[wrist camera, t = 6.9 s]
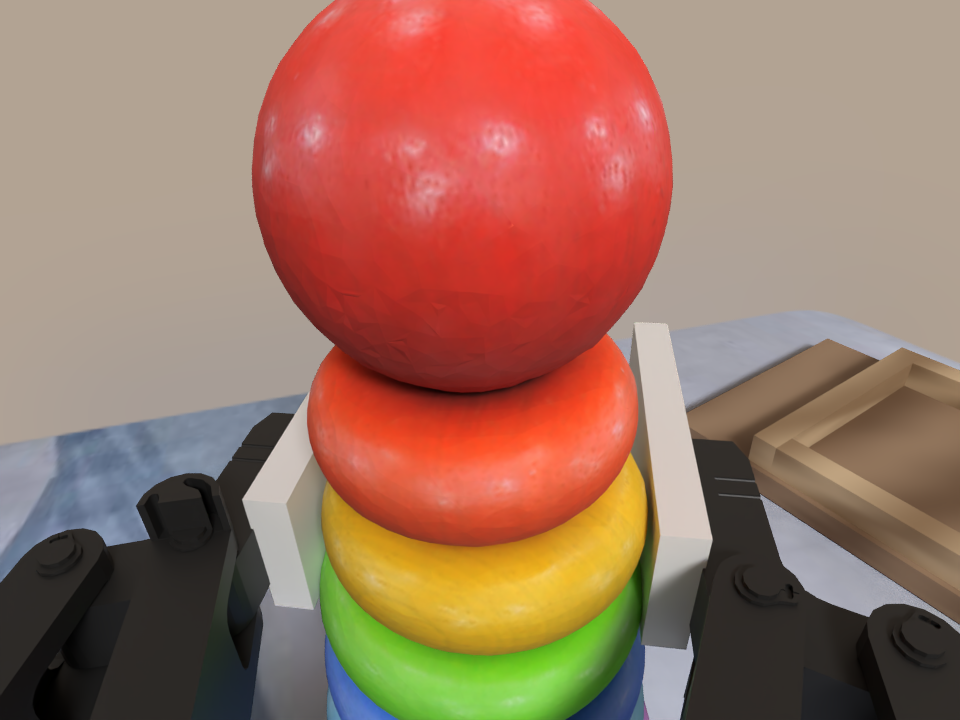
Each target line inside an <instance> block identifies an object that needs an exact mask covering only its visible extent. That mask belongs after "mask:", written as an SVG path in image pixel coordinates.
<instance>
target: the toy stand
mask: <svg viewBox="0 0 960 720" xmlns="http://www.w3.org/2000/svg"><path fill="white" fill-rule="evenodd" d="M686 415H687V420H688V425H689V429H690V434H691V439H706V440H721V441H733V442H734V443H735V444H736V445H737V447H738V448H739V449H740V450H741V451H742V452H743V453H744V454H745V455H746V457H747V458H748V459H749V461H750V464H751V467H752V470H753V474H754V477H755V483H757V486H758V489H759V493H760V494H762V495H763V496H765V497H767V498H768V499H770V500H771V501H773V502H774V503H776V504H777V505H779V506H780V507H782V508H783V509H785V510H786V511H788V512H789V513H791V514H792V515H794V516H795V517H797V518H799V519H800V520H802V521H803V522H805V523H806V524H808V525H809V526H811V527H812V528H814V529H815V530H817V531H818V532H820V533H821V534H823V535H824V536H826V537H828V538H829V539H831V540H832V541H834V542H835V543H837V544H838V545H840V546H841V547H843V548H844V549H846V550H847V551H849V552H850V553H852V554H853V555H855V556H857V557H858V558H860V559H861V560H863V561H864V562H866V563H867V564H869V565H870V566H872V567H873V568H875V569H876V570H878V571H879V572H881V573H882V574H884V575H885V576H887V577H889V578H890V579H892V580H893V581H895V582H896V583H898V584H899V585H901V586H902V587H904V588H905V589H907V590H908V591H910V592H911V593H913V594H914V595H916V596H918V597H919V598H921V599H922V600H924V601H925V602H927V603H928V604H930V605H931V606H933V607H934V608H936V609H937V610H939V611H940V612H942V613H943V614H945V615H946V616H948V617H950V618H951V619H953V620H954V621H956V622H957V623H959V624H960V370H957V369H955V368H952V367H950V366H947V365H945V364H942V363H940V362H937V361H935V360H932V359H930V358H927V357H925V356H922V355H920V354H917V353H915V352H912V351H910V350H907V349H905V348H900V349H899V350H897V351H895V352H894V353H892V354H890V355H889V356H887V357H885V358H883V359H882V360H880V361H879V360H877V359H875V358H872V357H870V356H868V355H865V354H863V353H861V352H858V351H856V350H853V349H851V348H849V347H846V346H844V345H842V344H839V343H837V342H834V341H832V340H830V339H826V340H824V341H822V342H820V343H818V344H817V345H815V346H813V347H811V348H809V349H807V350H805V351H803V352H801V353H799V354H798V355H796V356H794V357H792V358H790V359H788V360H786V361H784V362H782V363H780V364H779V365H777V366H775V367H773V368H771V369H769V370H767V371H765V372H763V373H761V374H760V375H758V376H756V377H754V378H752V379H750V380H748V381H746V382H744V383H742V384H741V385H739V386H737V387H735V388H733V389H731V390H729V391H727V392H725V393H723V394H722V395H720V396H718V397H716V398H714V399H712V400H710V401H708V402H706V403H704V404H702V405H701V406H699V407H697V408H695V409H693V410H691V411H689V412H687V413H686Z"/></svg>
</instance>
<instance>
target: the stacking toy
mask: <svg viewBox="0 0 960 720" xmlns="http://www.w3.org/2000/svg"><path fill="white" fill-rule="evenodd" d="M672 175H673V173H672V154H671V146H670V136H669V131H668V126H667V122H666V117H665V113H664V108H663V104H662V101H661V99H660V96H659V94H658V92H657V89H656V87H655V85H654V82H653V80H652V78H651V76H650V74H649V71H648V69H647V67H646V65H645V64H644V62H643V60H642V59H641V57H640V55H639V54H638V52H637V50H636V49H635V48H634V47H633V46H632V44H631V43H630V42H629V41H628V39H627V38H626V37H625V36H624V34H622V33H621V31H620V30H619V28H618V27H617V26H615V24H614V23H612V21H611V20H610V19H608V17H607V16H605V14H603V12H602V11H601V10H600V9H598V8H597V7H596V6H594V5H593V4H592V3H591V2H589V1H588V0H335V1H334V2H332V3H331V4H330V5H329V6H327V7H326V8H325V9H324V10H323V11H321V12H320V13H319V14H318V15H317V16H316V17H315V18H314V19H313V20H312V21H311V22H310V23H309V24H308V25H307V26H306V28H305V29H304V30H303V32H302V33H301V34H300V35H299V37H298V38H297V39H296V40H295V42H294V43H293V45H292V46H291V47H290V49H289V50H288V52H287V53H286V54H285V56H284V57H283V59H282V60H281V61H280V63H279V65H278V67H277V69H276V71H275V73H274V75H273V77H272V79H271V81H270V83H269V86H268V89H267V92H266V95H265V98H264V100H263V104H262V106H261V110H260V112H259V116H258V122H257V127H256V133H255V138H254V149H253V164H252V188H253V197H254V204H255V212H256V217H257V220H258V224H259V227H260V230H261V234H262V237H263V240H264V245H265V247H266V250H267V252H268V254H269V257H270V259H271V261H272V264H273V266H274V269H275V271H276V273H277V275H278V276H279V278H280V280H281V282H282V283H283V285H284V287H285V289H286V290H287V292H288V293H289V295H290V297H291V298H292V300H293V302H294V303H295V304H296V305H297V307H298V308H299V309H300V310H301V311H302V312H303V314H304V315H305V316H306V317H307V318H308V319H309V320H310V322H311V323H312V324H313V325H314V326H315V327H316V328H317V329H318V330H319V331H320V332H321V333H323V335H325V336H326V337H327V338H328V339H329V340H330V341H331V342H332V343H334V344H335V346H334V347H333V348H332V350H331V351H330V352H329V353H328V355H327V356H326V357H325V359H324V360H323V361H322V363H321V365H320V367H319V369H318V372H317V373H316V376H315V378H314V380H313V383H312V386H311V390H310V394H309V401H308V407H307V427H308V434H309V441H310V444H311V447H312V451H313V454H314V457H315V459H316V461H317V463H318V465H319V467H320V469H321V471H322V473H323V474H324V476H325V478H326V479H327V481H326V485H325V489H324V493H323V499H322V510H321V525H322V533H323V538H324V543H325V548H326V552H325V556H324V560H323V564H322V568H321V577H320V605H321V614H322V620H323V624H324V627H325V631H326V637H325V666H326V674H327V679H328V684H329V685H328V693H327V720H649V717H648V713H647V709H646V706H645V702H644V695H643V684H642V680H643V674H644V666H645V645H641V638H640V622H641V616H642V578H641V564H640V556H641V553H642V550H643V547H644V544H645V539H646V534H647V524H648V503H647V494H646V489H645V483H644V480H643V477H642V475H641V473H640V470H639V468H638V466H637V464H636V462H635V460H634V458H633V456H632V454H631V452H630V451H631V449H632V447H633V443H634V440H635V436H636V432H637V425H638V396H637V386H636V382H635V377H634V375H633V373H632V371H631V368H630V366H629V364H628V362H627V361H626V359H625V357H624V355H623V354H622V352H621V350H620V349H619V348H618V346H617V345H616V344H615V342H614V341H613V340H612V339H611V338H610V337H609V336H608V335H607V334H606V333H607V332H608V331H609V330H610V329H611V327H612V326H613V325H614V324H615V323H616V322H617V321H618V320H619V318H620V317H621V316H622V315H623V313H624V312H625V311H626V310H627V309H628V307H629V306H630V305H631V304H632V302H633V301H634V299H635V298H636V296H637V295H638V293H639V292H640V290H641V289H642V288H643V285H644V283H645V281H646V279H647V277H648V274H649V272H650V270H651V269H652V267H653V265H654V262H655V260H656V257H657V255H658V252H659V249H660V246H661V242H662V239H663V236H664V233H665V227H666V225H667V220H668V215H669V211H670V205H671V197H672V188H673V176H672Z"/></svg>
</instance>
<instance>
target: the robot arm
mask: <svg viewBox="0 0 960 720" xmlns="http://www.w3.org/2000/svg"><path fill="white" fill-rule="evenodd" d="M629 366H630V368H631V371H632V373H633V375H634V377H635V382H636V386H637V396H638V425H637V432H636V436H635V440H634V443H633V447H632V449H631V451H630V452H631V454H632V456H633V458H634V460H635V462H636V464H637V466H638V468H639V470H640V473H641V475H642V477H643V480H644V483H645V489H646V494H647V503H648V524H647V534H646V539H645V544H644V547H643V550H642V553H641V556H640V564H641V578H642V616H641V622H640V638H641V645H648V646H657V647H666V648H675V649H685V650H686V648H687V644H688V640H689V636H690V633H691V639H692V646H693V653H694V658H693V662H692V666H691V670H690V674H689V678H688V682H687V686H686V690H685V693H684V703H683V708H682V713H681V718H680V720H960V633H958V632H957V631H956V630H955V629H954V628H953V627H951V626H950V625H949V624H948V623H947V622H946V621H944V620H943V619H941V618H939V617H937V616H935V615H933V614H932V613H930V612H928V611H926V610H924V609H921V608H917V607H913V606H910V605H906V604H885V605H883V606H881V607H879V608H877V609H875V610H873V612H872V613H871V615H870V617H866V616H863V615H861V614H858V613H855V612H852V611H849V610H846V609H843V608H841V607H838V606H835V605H832V604H830V603H827V602H825V601H823V600H821V599H818V598H816V597H815V596H813V595H812V594H810V593H809V592H807V591H805V590H804V588H803V586H802V585H801V583H800V582H799V580H798V579H797V578H796V576H795V575H794V574H793V573H791V572H790V571H789V570H788V569H786V568H785V567H784V566H783V564H782V562H781V560H780V557H779V553H778V550H777V547H776V544H775V541H774V537H773V534H772V531H771V528H770V525H769V521H768V518H767V515H766V512H765V509H764V505H763V502H762V500H760V493H759V489H758V486H757V483H755V477H754V474H753V470H752V467H751V464H750V461H749V459H748V458H747V457H746V455H745V454H744V453H743V452H742V451H741V450H740V449H739V448H738V447H737V445H736V444H735V443H734V442H733V441H721V440H706V439H691V434H690V429H689V425H688V420H687V415H686V410H685V406H684V401H683V396H682V391H681V386H680V382H679V377H678V372H677V367H676V363H675V358H674V353H673V348H672V344H671V339H670V334H669V329H668V325H667V324H662V323H640V322H634V329H633V337H632V346H631V354H630V363H629ZM309 394H310V391H309V393H308V394H307V396H306V398H305V399H304V401H303V402H302V404H301V406H300V407H299V409H298V410H297V412H296V414H286V413H271V414H270V415H269V416H267V417H266V418H265V419H263V420H262V421H261V422H259V423H258V424H257V425H255V426H254V427H253V428H252V430H251V431H250V432H249V434H248V435H247V437H246V438H245V440H244V441H243V443H242V447H239V448H238V450H237V451H236V453H235V454H234V456H233V457H232V461H229V463H228V464H227V466H226V467H225V469H224V470H223V472H222V473H221V474H220V476H219V477H218V479H217V480H216V481H215V480H214V478H213V477H210V476H207V475H204V474H201V473H187V474H182V475H178V476H174V477H171V478H168V479H166V480H164V481H162V482H160V483H158V484H156V485H155V486H154V487H152V488H151V489H150V490H149V491H147V492H146V493H145V494H144V495H143V496H142V498H141V499H140V501H139V502H138V504H137V505H136V507H137V509H138V512H139V514H140V516H141V518H142V521H143V523H144V525H145V528H146V530H147V532H148V534H149V537H150V539H147V540H143V541H137V542H131V543H125V544H119V545H113V546H108V547H107V546H106V544H105V542H104V540H103V538H102V537H101V536H100V535H99V534H98V533H97V532H96V531H92V530H88V529H84V528H82V529H73V530H67V531H64V532H61V533H58V534H55V535H52V536H50V537H48V538H47V539H45V540H43V541H42V542H40V543H38V544H36V545H35V546H34V547H33V548H32V549H31V550H29V551H28V552H27V553H26V554H25V555H24V556H23V557H22V558H21V559H20V560H19V562H18V563H17V564H16V565H15V566H14V568H13V569H12V570H11V571H10V572H9V574H8V575H7V576H6V577H5V578H4V579H3V581H2V582H1V583H0V720H250V717H251V710H252V703H253V695H254V688H255V681H256V673H257V666H258V658H259V651H260V644H261V636H262V629H263V619H262V612H261V609H260V604H261V602H262V600H263V598H264V596H265V594H266V592H267V589H268V587H269V588H270V591H271V594H272V597H273V600H274V604H275V606H283V607H292V608H302V609H311V610H314V608H315V606H316V603H317V601H318V599H319V596H320V577H321V568H322V564H323V560H324V556H325V552H326V548H325V543H324V538H323V533H322V525H321V510H322V499H323V493H324V489H325V485H326V481H327V479H326V478H325V476H324V474H323V473H322V471H321V469H320V467H319V465H318V463H317V461H316V459H315V457H314V454H313V451H312V447H311V444H310V441H309V434H308V427H307V407H308V401H309ZM57 653H58V654H57Z"/></svg>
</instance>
